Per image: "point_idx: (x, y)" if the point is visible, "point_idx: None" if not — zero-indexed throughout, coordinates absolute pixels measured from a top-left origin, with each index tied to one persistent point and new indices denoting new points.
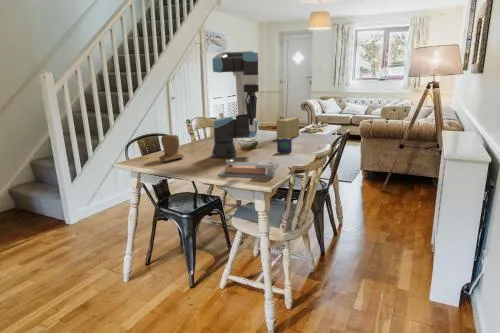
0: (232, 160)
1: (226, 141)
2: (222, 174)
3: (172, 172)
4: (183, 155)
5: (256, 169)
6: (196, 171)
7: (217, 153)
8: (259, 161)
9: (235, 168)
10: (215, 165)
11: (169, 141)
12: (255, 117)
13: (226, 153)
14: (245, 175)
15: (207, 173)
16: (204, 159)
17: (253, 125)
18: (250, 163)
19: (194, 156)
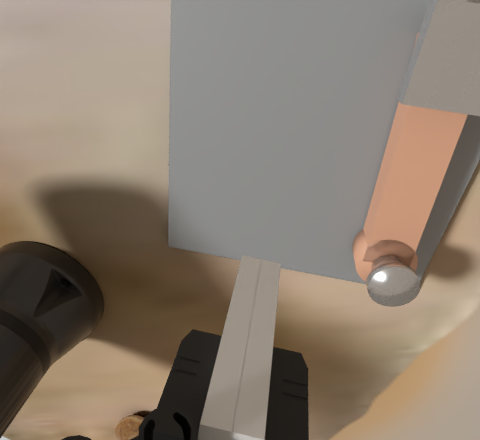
0: (403, 274)
1: (26, 340)
2: (417, 274)
3: (336, 422)
4: (135, 420)
5: None
6: (326, 362)
7: (90, 328)
8: (440, 95)
9: (420, 233)
10: (227, 309)
11: None
12: (196, 430)
13: (78, 294)
14: (465, 162)
15: (363, 326)
16: (135, 352)
17: (272, 328)
18: (193, 157)
19: (98, 383)
